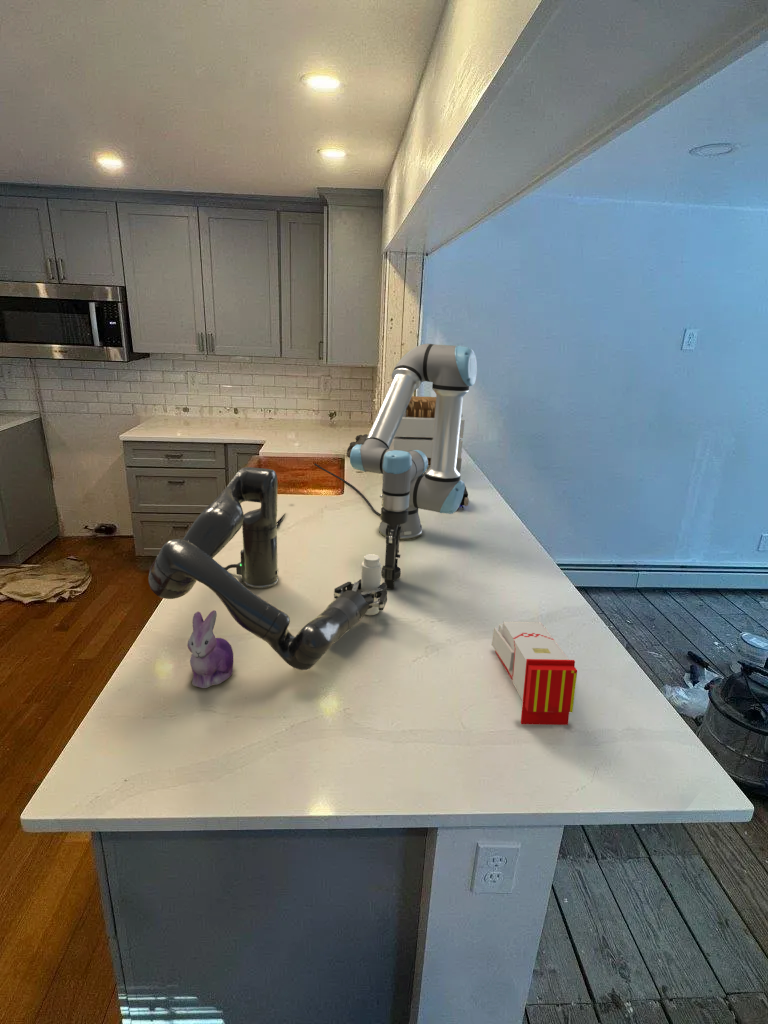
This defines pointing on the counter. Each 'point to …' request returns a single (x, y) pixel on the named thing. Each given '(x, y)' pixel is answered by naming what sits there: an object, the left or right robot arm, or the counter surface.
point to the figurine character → (464, 499)
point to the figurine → (209, 653)
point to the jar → (371, 577)
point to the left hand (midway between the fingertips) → (374, 583)
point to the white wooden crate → (421, 429)
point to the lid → (397, 572)
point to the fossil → (359, 440)
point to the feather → (280, 520)
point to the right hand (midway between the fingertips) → (390, 583)
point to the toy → (537, 671)
